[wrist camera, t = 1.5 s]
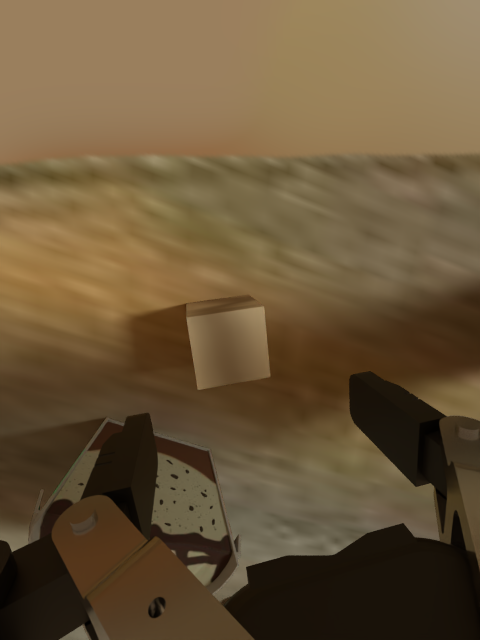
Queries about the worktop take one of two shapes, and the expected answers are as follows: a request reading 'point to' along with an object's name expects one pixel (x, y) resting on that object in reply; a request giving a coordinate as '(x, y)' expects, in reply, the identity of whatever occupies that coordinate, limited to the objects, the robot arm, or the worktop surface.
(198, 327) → the birch cube
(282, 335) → the worktop surface
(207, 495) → the food container
